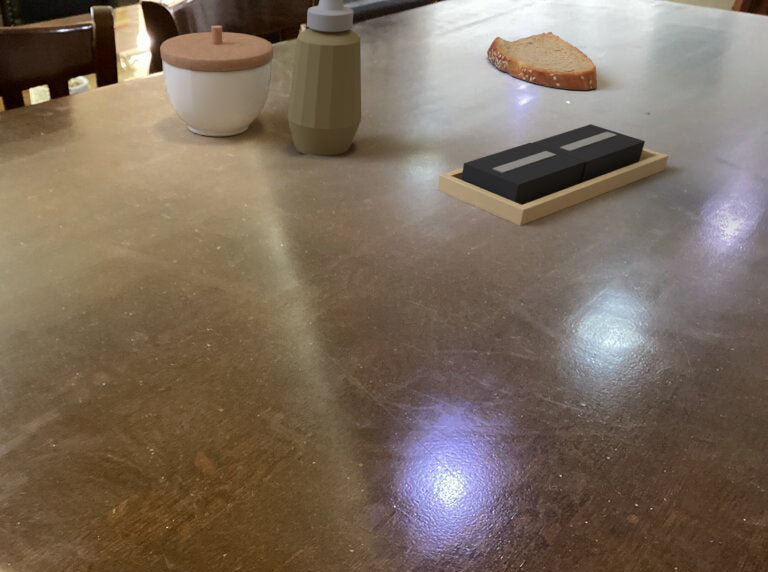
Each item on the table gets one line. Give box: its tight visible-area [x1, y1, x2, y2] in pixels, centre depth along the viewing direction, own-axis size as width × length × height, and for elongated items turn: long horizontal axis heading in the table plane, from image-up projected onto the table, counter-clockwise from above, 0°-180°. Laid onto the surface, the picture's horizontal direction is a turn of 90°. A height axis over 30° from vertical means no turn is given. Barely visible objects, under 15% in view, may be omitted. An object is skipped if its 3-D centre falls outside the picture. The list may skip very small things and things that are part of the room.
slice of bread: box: [486, 31, 598, 91], centre depth 117 cm, size 18×18×4 cm
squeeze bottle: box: [286, 0, 362, 157], centre depth 85 cm, size 8×8×18 cm
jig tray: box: [437, 147, 670, 226], centre depth 82 cm, size 24×10×2 cm, turn 127°
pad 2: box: [532, 123, 646, 184], centre depth 84 cm, size 10×6×3 cm, turn 127°
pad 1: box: [461, 142, 585, 205], centre depth 79 cm, size 10×6×3 cm, turn 127°
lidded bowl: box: [159, 25, 274, 137], centre depth 93 cm, size 13×13×11 cm
